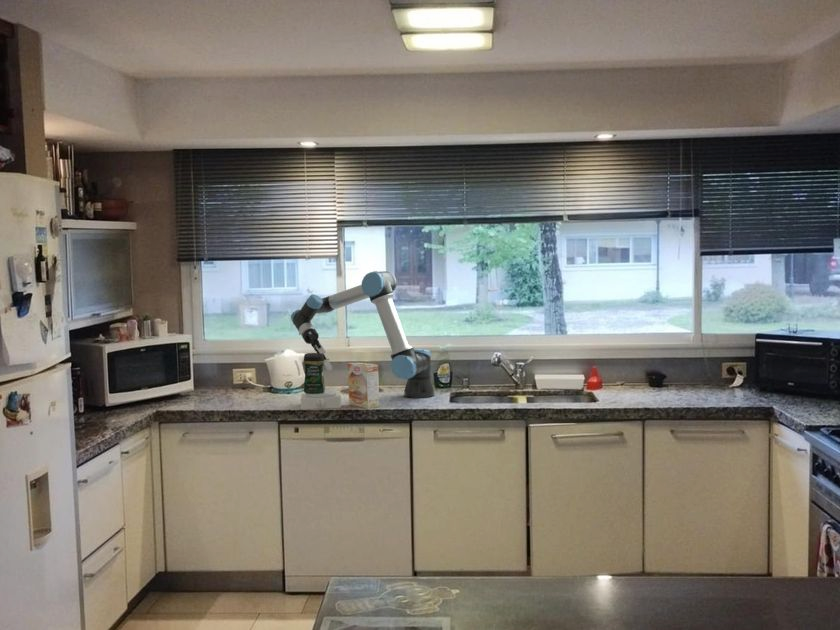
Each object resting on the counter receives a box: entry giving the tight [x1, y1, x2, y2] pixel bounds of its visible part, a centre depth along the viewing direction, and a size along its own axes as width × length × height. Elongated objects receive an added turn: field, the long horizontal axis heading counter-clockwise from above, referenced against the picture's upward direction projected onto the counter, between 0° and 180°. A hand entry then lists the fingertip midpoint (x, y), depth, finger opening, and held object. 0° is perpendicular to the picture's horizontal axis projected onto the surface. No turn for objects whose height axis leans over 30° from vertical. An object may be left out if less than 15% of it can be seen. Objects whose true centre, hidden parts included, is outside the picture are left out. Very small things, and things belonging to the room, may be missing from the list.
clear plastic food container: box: [300, 389, 342, 410], centre depth 355 cm, size 18×16×6 cm
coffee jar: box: [303, 352, 326, 394], centre depth 355 cm, size 10×8×19 cm
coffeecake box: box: [347, 361, 380, 409], centre depth 354 cm, size 15×7×20 cm, turn 40°
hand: (326, 361), depth 370 cm, fingers open, 13 cm apart
